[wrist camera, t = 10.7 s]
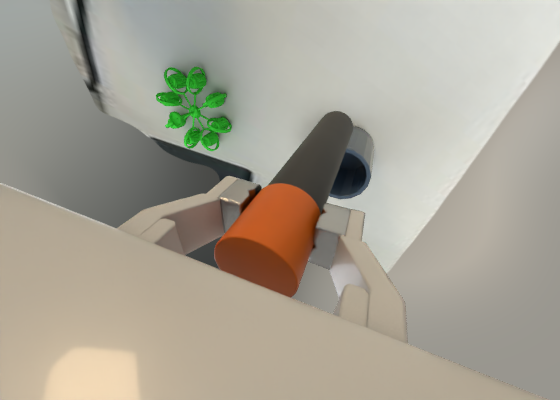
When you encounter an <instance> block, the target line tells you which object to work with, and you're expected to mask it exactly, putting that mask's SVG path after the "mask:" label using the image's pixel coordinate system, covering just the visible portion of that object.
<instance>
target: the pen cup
mask: <svg viewBox="0 0 560 400" xmlns="http://www.w3.org/2000/svg"><path fill="white" fill-rule="evenodd" d="M373 158H374V143H373V140H372V138H371V136H370V135H369V134H368V133H367V132H366V131H365V130H363V129H361V128H359V127H354V126H353V132H352V135H351V138H350V140H349V143H348V146H347V149H346V151H345V154H344V157H343V159H342V162H341V165H340V167H339V170H338V173H337V175H336V178H335V181H334V183H333V186H332V189H331V191H330V194H329V196H330V197H334V198H338V199H348V198H352V197H355V196H357V195H359V194H361V193H362V192H363V191H364V190H365V189H366V188H367V186H368V184H369V181H370V178H371V173H372V165H373Z"/></svg>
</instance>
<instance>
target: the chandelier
mask: <svg viewBox="0 0 560 400" xmlns="http://www.w3.org/2000/svg"><path fill="white" fill-rule="evenodd" d="M197 69H200V70H201V72H202V74H201V73H196V74H193V72H194V71H195V70H197ZM168 70H173V71H175V72H177V73H178V74H172V75H171V76H169V77H168V78H167V71H168ZM164 78H165V81H166V83H167V85H168V86H169V88H170V89H171V90H172V91H174V92H168V93H166V92H162V93H158V94H157V95H156V99H157V101H158V102H160V103H162V104H163V105H165V106H179V105H180V106H182V107H184V108H186V109H188V110H189V113H187V114H184V115H180V114H179V113H178V112H175V111H174V112H171V113H170V115H169V117H170V119H169V120H168V124H167V125H165V126H166V128H169V127H171V128H173V129H175V128H179V127H182V126H184V125H185V123H186V121H185V120H186V119H187V117H188V116H190V115H191V116H192V117H193V127H192V128H191V129H189V130H188V132H187V133H186V135H185V137H184V144H185V146H186V147H187V148H193V147H194V146H196V144H197V143H198V141H201V143H202V145H203V146H204V147H205V148H206V149H207V150H209V151H214V150H216V149H218V147H219V138H218V135H217V134H216V133H215V132H220V133H227V132H230V131H231V128H232V125H231V124H230V123H229V122H228V121H227V119H226V118H224V117H221V118H210V119H208V118H206V117H204V116H202V115H201V113H200V109H202V108H204V107H207V106H208V107H210V108H216V107H219V106H221V105H223V104H224V98H225V97H227V96H226V94H221V93H219V92H216V93H213V94H210V95H209V96H207V97H206V102H205V103H203V104H202V105H203V106H202V107H201V108H198V107H197V106H195V103H196V95H197V94H199V93H200V92H201V91H202V89H203V87H204V86H205V85H206V82H207V81H206V78H205V73H204V71H203V69H201V68H199V67H194V68H192V69H191V70H190V72H189V74H188V76H187V78H186V77H185V76H184V75H183V74H182V73H181V72H180V71H179V70H177V69H175V68H172V67H171V68H168V69H167V70H165V72H164ZM185 86H186V91H185V92H179V91H177V90H176V89H179V88H183V87H185ZM174 88H175V89H174ZM190 88H192V89H198V88H199V89H198V90H197V91H196V92H194V93H192V92H191V90H190ZM187 91H189V92H190V93H191V94H193V95H194V105H192V106H191V104H190V102H189V101H188V99H187V97H186V95H185V93H186V92H187ZM178 94H181V95H182V94H184V96H185V98H186V100H187V102H188V103H189V105H190V108H187V107H185V106H183V105H181V104H182V99H181V98H180V97H179V96H178ZM159 96H161V97H160V99H159V98H158V97H159ZM179 100H180V102H179ZM200 116H201V117H203V118H205V119H207V120H208V121H207V126H208V127H209V128H210V129H209V128H205V129H204V127H203V125H202V124H201V122H200V120H199V117H200ZM194 118H197V119H198V121H199V123H200V125H201V126H202V128H203V130H202V131H201V132H200V130H199V129H198V128H196V127H194ZM210 121H213V122H212V124H211V125H210V124H209V122H210ZM228 125H229V127H230V129H227V127H228ZM194 129H197V131H193V130H194ZM225 129H227V130H225ZM204 130H209V131H210V133H208V134H206V135H205V136H204V137H203V138H202V133H203V131H204ZM215 143H217V146H216V148H215V149H210V148H208V146H211V145H213V144H215ZM187 144H189V145H191V144H193V145H191V146H189V147H188V146H187Z"/></svg>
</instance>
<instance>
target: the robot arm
mask: <svg viewBox="0 0 560 400" xmlns="http://www.w3.org/2000/svg"><path fill="white" fill-rule="evenodd" d="M261 190H262V189H261V186H260V185H259V184H256V183H252V182H249V181H245V180H242V179H238V178H235V177H231V176H227V177H225V178H224V179H223V180H222V181H221V182H220V183H218V184H217V185H216V186H215V187H214V188H212V189H211V190H210V191H209V192H208V193H207V194H199V195H195V196H191V197H188V198H184V199H181V200H177V201H173V202H170V203H166V204H162V205H159V206H155V207H152V208H148V209H144V210H142V211H141V212H140V213H138V214H137V215H135V216H134V217H133V218H131V219H130V220H128V221H127V222H125V223H124V224H122V225H121V226H120V227H118V228H117V229H116V228H113V227H111V226H108V225H106V224H103V223H101V222H98V221H96V220H93V219H91V218H88V217H85V216H83V215H81V214H78V213H76V212H73V211H70V210H68V209H65V208H63V207H60V206H58V205H55V204H53V203H50V202H48V201H45V200H43V199H40V198H38V197H35V196H33V195H30V194H27V193H25V192H22V191H20V190H17V189H15V188H12V187H10V186H7V185H5V184H2V183H0V400H548V399H546V398H543V397H540V396H538V395H535V394H533V393H530V392H528V391H525V390H523V389H520V388H518V387H515V386H513V385H510V384H508V383H505V382H503V381H500V380H498V379H495V378H493V377H490V376H487V375H485V374H482V373H480V372H477V371H475V370H472V369H470V368H467V367H465V366H462V365H460V364H457V363H455V362H452V361H450V360H447V359H445V358H442V357H439V356H437V355H434V354H432V353H429V352H427V351H424V350H422V349H419V348H417V347H414V346H412V345H409V344H408V338H407V322H406V306H405V301H404V300H403V298H402V297H401V295H400V294H399V292H398V291H397V289H396V288H395V286H394V285H393V283H392V282H391V280H390V279H389V278H388V276H387V274H386V273H385V271H384V270H383V268H382V267H381V265H380V264H379V262H378V261H377V259H376V258H375V256H374V255H373V253H372V252H371V250H370V249H369V247H368V246H367V244H366V243H365V242H362V234H363V226H364V218H365V213H364V212H362V211H358V210H353V209H348V208H344V207H340V206H336V205H333V204H329V203H325V204H324V206H323V209H322V214H321V215H320V217H319V219H318V222H317V225H316V227H315V232H314V237H313V243H314V245H313V248H312V251H311V253H310V256H309V261H308V262H310V263H313V264H316V265H318V266H322V267H324V268H327V269H329V270H330V274H331V277H332V279H333V282H334V285H335V288H336V291H337V294H338V297H339V301H338V303H337V306H336V308H335V311H334V313H333V314H331V313H328V312H326V311H323V310H321V309H318V308H316V307H313V306H311V305H308V304H306V303H303V302H300V301H298V300H295V299H293V298H290V297H288V296H285V295H283V294H280V293H278V292H275V291H273V290H270V289H268V288H265V287H262V286H260V285H257V284H255V283H252V282H250V281H247V280H245V279H242V278H240V277H237V276H235V275H232V274H230V273H227V272H225V271H222V270H220V269H217V268H215V267H212V266H209V265H207V264H204V263H202V262H199V261H197V260H194V259H192V258H189V257H187V256H185V255H186V254H188V253H190V252H192V251H194V250H195V249H197V248H199V247H201V246H203V245H205V244H207V243H209V242H211V241H213V240H215V239H216V238H219V237H220V236H222V235H224V233H226V232H227V230H228V229H229V228H230V227H231V226H232V224H233V223H234V222H235V221H236V220H237V218H238V217H239V216H240V215H241V214H242V212H243V211H244V210H245V209H246V208H247V206H248V205H249V204H250V203H251V201H252V200H253V199H254V198H255V197H256V195H257V194H258V193H259V192H260V191H261Z"/></svg>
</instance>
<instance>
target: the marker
mask: <svg viewBox="0 0 560 400" xmlns="http://www.w3.org/2000/svg"><path fill="white" fill-rule="evenodd" d="M352 132H353V124H352V121H351V119H350V118H349V117H348V116H347V115H346V114H345V113H342V112H339V111H334V112H330V113H328V114H326V115H325V116H324V117H323V118H322V119H321V120H320V122H319V123H318V124H317V125H316V127H315V128H314V129H313V130H312V131H311V133H310V134H309V135H308V136H307V138H306V139H305V140H304V141H303V143H302V144H301V145H300V146H299V148H298V149H297V150H296V151H295V153H294V154H293V155H292V156H291V157H290V159H289V160H288V161H287V162H286V164H285V165H284V166H283V167H282V169H281V170H280V171H279V172H278V174H277V175H276V176H275V177H274V179H273V180H272V181H271V182H270V183H269V185H268V186H266V187H264V188H263V189H262V190H261V191H260V192H259V193H258V194H257V195H256V197H255V198H254V199H253V200H252V201H251V203H250V204H249V205H248V206H247V208H246V209H245V210H244V211H243V212H242V214H241V215H240V216H239V217H238V218H237V220H236V221H235V222H234V223H233V224H232V226H231V227H230V228H229V229H228V230H227V232H226V233H225V234H224V235H223V237H222V238H221V239H220V240H219V242H218V243H217V244H216V246H215V250H214V255H215V260H216V262H217V265H218V267H219V268H220V270H222V271H225V272H227V273H230V274H232V275H235V276H237V277H240V278H242V279H245V280H247V281H250V282H252V283H255V284H257V285H260V286H262V287H265V288H268V289H270V290H273V291H275V292H278V293H280V294H283V295H285V296H288V297H290V298H291V297H292V296H293V295H294V294H295V293H296V292H297V289H298V287H299V284H300V281H301V278H302V276H303V273H304V270H305V267H306V264H307V262H308V259H309V256H310V253H311V251H312V248H313V245H314V243H313V237H314V232H315V227H316V225H317V222H318V219H319V217H320V215H321V214H322V209H323V206H324V204H325V203H326V202H327V199H328V197H329V194H330V191H331V189H332V186H333V183H334V181H335V178H336V175H337V173H338V170H339V167H340V165H341V162H342V159H343V157H344V154H345V151H346V149H347V146H348V143H349V140H350V138H351V135H352Z"/></svg>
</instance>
